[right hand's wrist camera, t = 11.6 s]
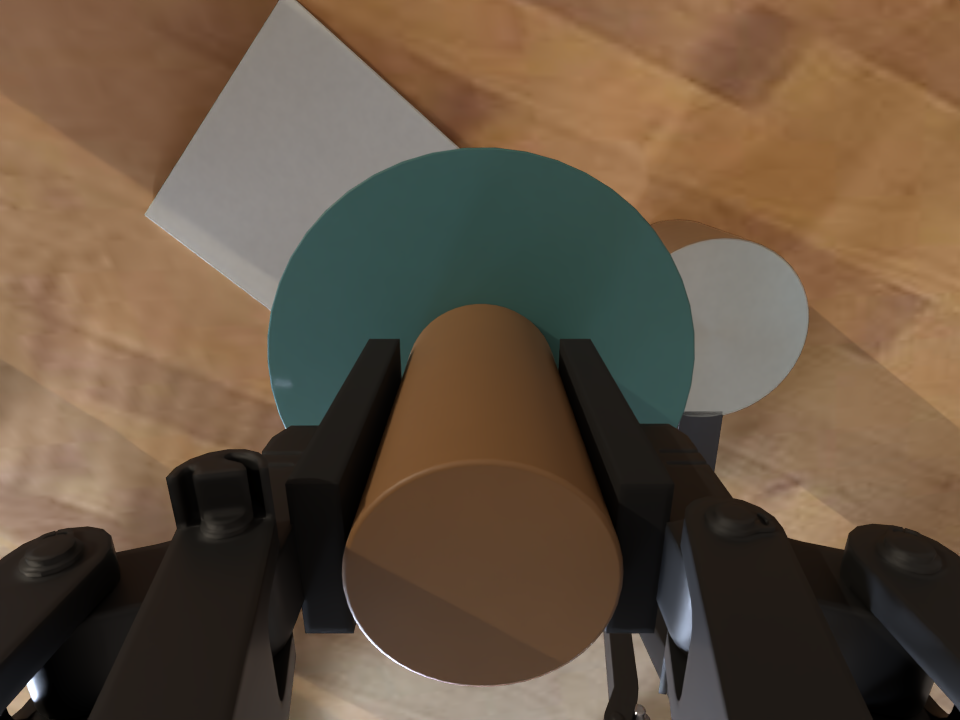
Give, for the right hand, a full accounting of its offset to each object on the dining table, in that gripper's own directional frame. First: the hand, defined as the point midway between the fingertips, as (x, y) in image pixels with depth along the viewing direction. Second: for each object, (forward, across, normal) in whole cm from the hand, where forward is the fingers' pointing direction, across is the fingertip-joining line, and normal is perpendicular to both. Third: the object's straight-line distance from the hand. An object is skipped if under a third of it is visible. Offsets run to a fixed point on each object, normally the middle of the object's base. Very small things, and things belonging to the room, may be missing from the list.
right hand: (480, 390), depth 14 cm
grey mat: (+24, +11, -3) cm, 27 cm away
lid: (+2, 0, 0) cm, 2 cm away
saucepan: (+24, -13, +11) cm, 29 cm away
